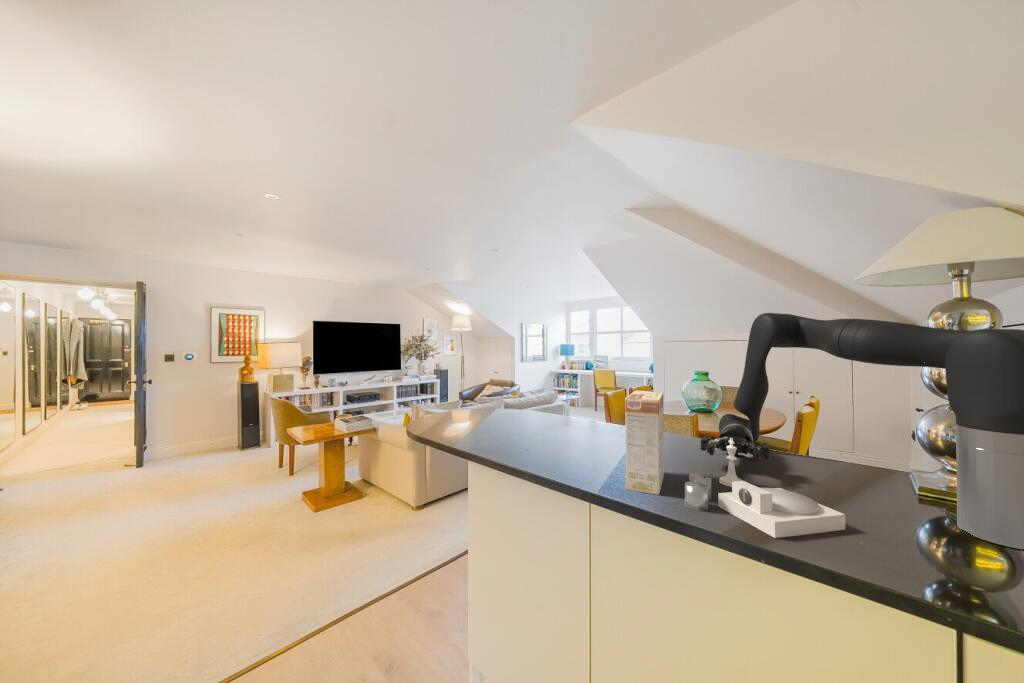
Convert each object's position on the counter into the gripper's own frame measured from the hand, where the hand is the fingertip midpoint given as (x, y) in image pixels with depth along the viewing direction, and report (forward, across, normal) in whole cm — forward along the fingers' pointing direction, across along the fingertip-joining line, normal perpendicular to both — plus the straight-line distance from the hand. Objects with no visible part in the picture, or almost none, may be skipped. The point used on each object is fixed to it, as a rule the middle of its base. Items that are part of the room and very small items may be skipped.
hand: (732, 453), depth 85 cm
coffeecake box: (+12, -16, +6) cm, 21 cm away
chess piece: (+2, 0, +6) cm, 7 cm away
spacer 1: (+14, -5, +6) cm, 16 cm away
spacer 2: (+20, -5, +6) cm, 22 cm away
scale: (+17, +8, +6) cm, 20 cm away
